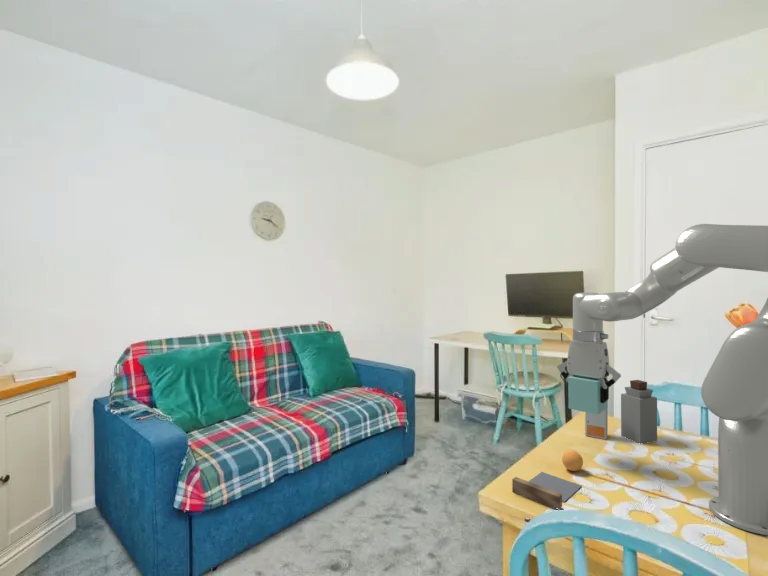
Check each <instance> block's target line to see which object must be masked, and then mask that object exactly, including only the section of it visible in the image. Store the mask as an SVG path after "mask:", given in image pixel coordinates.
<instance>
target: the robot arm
mask: <svg viewBox="0 0 768 576" xmlns="http://www.w3.org/2000/svg"><path fill="white" fill-rule="evenodd" d="M719 268H723V269H733V270H744V271H746V270H747V271H756V272H765V273H768V225H754V224H753V225H751V224H750V225H749V224H747V225H745V224H713V223H698V224H694V225H691V226H690V227H688V228H686V229H685V230H683V231H682V232H681V233H680V234H679V236H678V237H677V239H676V241H675V247H674V248H673V249H671V250H670V251H668V252H666V253H664V254H663V255H662V256H660V257H659V258H657V259H655V260H654V261H652V262H651V264H650V267H649V270H650V272H649V274H648V275H647V277H645V279H643V280H641V281H640V282H638V283H637V284H636V285H634V286H633V287H631V288H629V289H628V290H626V291H618V292H605V293H604V292H603V293H598V292H577V293H575V294H574V295H573V296H572V339H571V340H569V347H568V350H567V351H568V352H567V359H566V360H565V361H564V362H562V363H560V364H558V365H557V366H556V368H557V370H558V371H559V372H560V374H561V376H562V378H564V380H565V383H567V384H566V385H567V389H566V390H567V392H568V377H570V376H581V377H587V378H593V379H598V380H600V384H601V385H602V388H601V389H600V402H601V403H605V402H606V401H607V400H608V401H609V398H610V395H609V393H610V391H609V389H610V387H612V386H614V384H616V383H617V382H618V380H619V379H621V377H622V375H621V373H620V372H618V371H617V370H616V369H615V368H613V367H612V366H610V365H611V364H610V358H609V357H610V356H609V350H608V345H607V342H606V341H604V340H609V334H608V333H605V332H604V323H603V321H604V322H610V323H611V322H619V321H627V320H633V319H634V320H635V319H636V318H638V317H641V316H643V315H644V314H647V313H648V312H650V311H651V310H653V309H655V308H657V307H659V306H660V305H662V304H663V303H665V302H666V301H668V300H669V299H670V298H672V297H673V296H674V295H675V294H676V293H677V292H678V291H680V290H682V289H684V288H685V287H687V286H689V285H691V284H692V283H694V282H696V281H698V280H699V279H701V278H703V277H705V276H706V275H708V274H710V273H711V272H713V271H715V270H717V269H719ZM565 368H566V369H567V370H566V369H565ZM610 375H612V377H611V379H609V380H608V377H609V376H610ZM606 377H607V378H606ZM700 390H701V391H700V393H701V399H702V402H703V403H704V405H705V407H706V409H707V410H709V412H711V413H712V414H713V415H714V416H716V417H718V431H717V434H718V437H717V439H718V440H717V441H718V444H717V445H718V446H717V449H718V451H717V452H718V457H717V458H718V459H717V460H718V461H717V462H718V465H717V466H718V469H717V470H718V474H717V475H718V476H717V477H718V481H717V483H718V486H717V487H718V489H717V490H718V491H717V492H718V494H717V495H718V496H716V497H713V498H711V499H710V500H708V501H709V502H708V507H709V510H710V512H711V513H712V514H713V515H714V516H716V517H717V518H718V519H720V520H721V521H722V522H725V523H726V524H729V525H731V526H734V527H735V528H737V529H740V530H744V531H747V532H750V533H754V534H758V535H762V536H768V297H767V298H766V300H765V303H764V305H763V307H762V308H761V310H760V312H759V313H758V315H757V316H756V318H755V320H754V321H753V322H748V323H745V324H742V325H740V326H739V327H737V328H735V329H734V330H732V332H730V334H729V335H728V336H727V338H726V339H725V340H724V342H723V343H722V345H721V347H720V349H719V351H718V353H717V355H716V357H715V359H714V360H713V363H712V364H711V367H710V368H709V370H708V371H707V373H706V376H705V377H704V379H703V382H702V385H701V389H700Z"/></svg>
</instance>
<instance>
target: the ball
mask: <svg viewBox="0 0 768 576" xmlns="http://www.w3.org/2000/svg"><path fill="white" fill-rule="evenodd" d="M561 461H562V464H563V465H564V468H566V469H567V470H569V471H571V472H576V471H580V470H581V469H582V468H583V465H584V460H583V458H582V456H581V454H580V453H579V452H577V451H575V450H572V449H571V450H570V449H569V450H566V451H564V453H563V454H562V456H561Z"/></svg>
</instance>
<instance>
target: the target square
mask: <svg viewBox="0 0 768 576" xmlns="http://www.w3.org/2000/svg"><path fill="white" fill-rule="evenodd" d="M527 481H528V482H531V483H533V484H536V485H539V486H541V487H544V488H547V489H549V490H552V491H555V492H557V493H560V494H562V501H563V502H562V503H565V501H566V500H567V499H568V498H569V499H570V498H571V497H572V496H573V495H574V494H576V493H577V490H578V489H579V488H580V489H582V487H581V486H582V485H581V484H579V483H575V482H573V481H571V480H567V479H564V478H561V477H558V476H555V475H552V474H550V473H547V472H543V471H541V472H539V473H538V474H537V475H535V476H534V477H532V478H531V479H530V480H527ZM580 489H579V490H580ZM579 490H578V491H579ZM569 499H568V500H569ZM568 500H567V501H568ZM567 501H566V502H567Z"/></svg>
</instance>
